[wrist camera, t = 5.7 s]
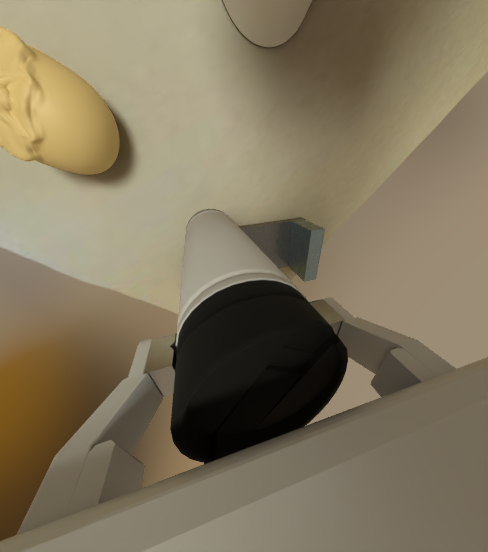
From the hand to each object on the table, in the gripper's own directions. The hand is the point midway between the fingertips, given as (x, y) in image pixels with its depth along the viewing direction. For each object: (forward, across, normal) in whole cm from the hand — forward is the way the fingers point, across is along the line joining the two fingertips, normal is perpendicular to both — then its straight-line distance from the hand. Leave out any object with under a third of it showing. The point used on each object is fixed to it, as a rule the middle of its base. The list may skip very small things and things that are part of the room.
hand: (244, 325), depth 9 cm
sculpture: (+33, +16, -13) cm, 39 cm away
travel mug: (+16, 0, 0) cm, 16 cm away
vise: (+33, -11, +10) cm, 36 cm away
